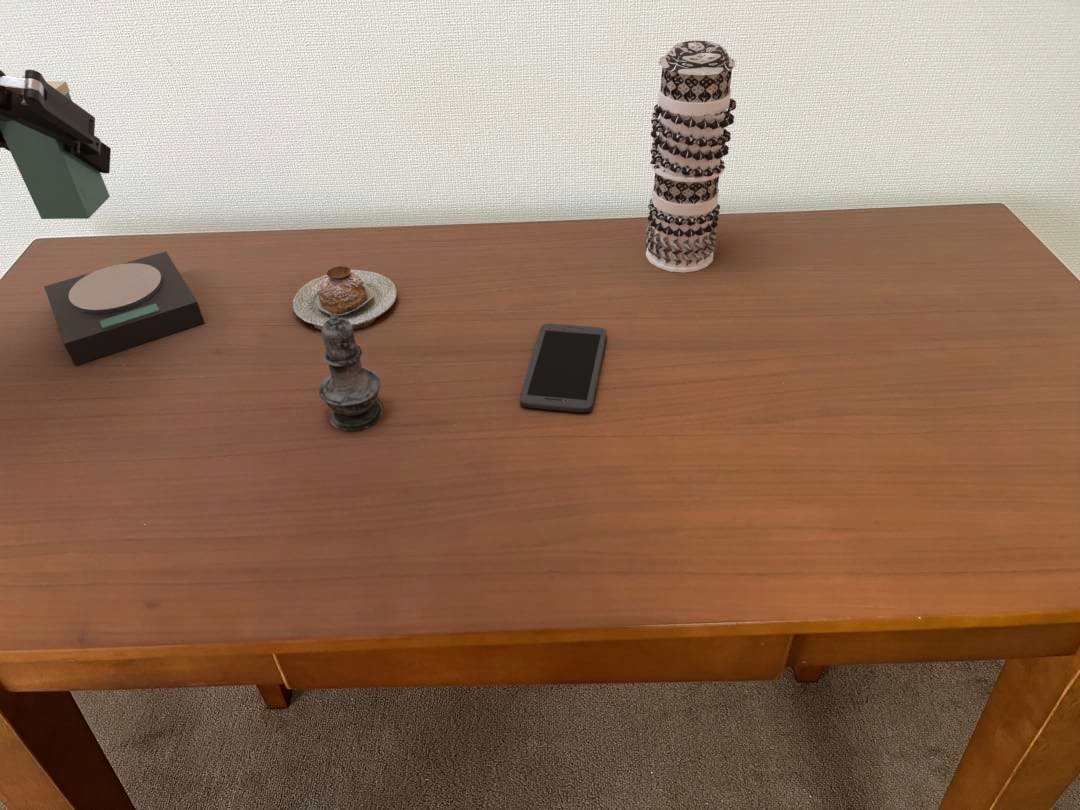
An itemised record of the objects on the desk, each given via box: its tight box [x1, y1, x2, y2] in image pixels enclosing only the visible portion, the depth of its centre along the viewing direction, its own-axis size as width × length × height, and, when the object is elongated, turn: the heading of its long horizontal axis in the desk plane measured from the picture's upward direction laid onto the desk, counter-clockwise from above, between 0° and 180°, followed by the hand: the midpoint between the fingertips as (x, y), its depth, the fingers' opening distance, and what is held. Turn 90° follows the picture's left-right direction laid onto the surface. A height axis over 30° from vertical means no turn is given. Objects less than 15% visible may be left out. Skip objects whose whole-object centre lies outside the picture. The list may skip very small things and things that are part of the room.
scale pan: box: [69, 263, 162, 314], centre depth 95 cm, size 10×10×1 cm
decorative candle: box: [645, 40, 737, 274], centre depth 95 cm, size 9×9×25 cm
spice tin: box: [0, 80, 111, 220], centre depth 82 cm, size 5×5×12 cm
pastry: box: [292, 265, 398, 331], centre depth 95 cm, size 12×12×5 cm
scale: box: [43, 250, 205, 367], centre depth 95 cm, size 14×14×3 cm
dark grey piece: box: [318, 312, 384, 433], centre depth 77 cm, size 6×6×12 cm
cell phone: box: [519, 323, 607, 413], centre depth 85 cm, size 7×14×1 cm, turn 170°
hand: (79, 161), depth 86 cm, fingers closed on spice tin, 5 cm apart
